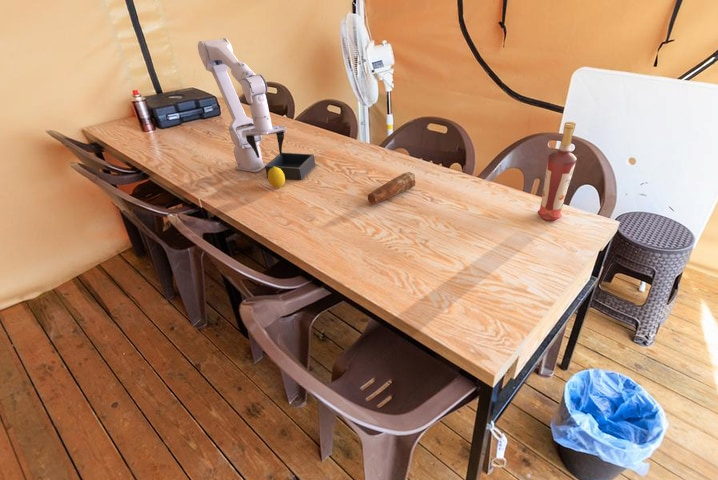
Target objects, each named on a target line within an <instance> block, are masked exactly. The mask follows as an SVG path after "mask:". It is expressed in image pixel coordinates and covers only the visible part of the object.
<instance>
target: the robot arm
mask: <svg viewBox="0 0 718 480" xmlns="http://www.w3.org/2000/svg"><path fill="white" fill-rule="evenodd" d="M197 50H198V52H197V53H198V55H199V57H200V59H201V62H202V64H203V66H204V68H205V70H206V71H208V72H209V73H211V74H212V76H213V79H214V80H215V83H216V85H217V87H218V89H219V92H220V94H221V96H222V98H223V101H224V103H225V105H226V107H227V110H228V112H229V115H230V117H231V119H232V121H231V123H230V124H229V125H228V132H229V134H230V139H231V141H232V144H233V145H234V147H233V155H234V157H235V158H234V159H235V163H236V165H237V167H236V170H237V171H238V170H239V171H244V172H251V173H258V172H260V171H261V170H263V169H265V166H266V165H267V164H268V163H269V162H268V163H266V162H264V161H263V156H262V151H261V147H260V145H261V141H262V140H263V136H267V135H275V136H276V139H277V144H278V145H277V146H278V151H279V154H280V155H282V153H283V144H284V139H285V134H287V127H286V125H272V124H273V123H272V119H271V115H270V110H269V109H270V108H269V104H268V99H267V95H266V94H267V93H268V91H269V90H268V89H269V88H268V84H267V83H268V82H267V81H266V79H265V77H264V76H263V74H261V73H259V74H258V73H255V72H254V71H253V70H252V69H251V68H250V67H249V66H248V65H247V64H246V63H245V62H244V61H240V60H238V57H236V55H235V54H234V50H233V46H232V43H231V42H230V41H229V40H228V38H227V37H223V38H218V39H210V40H199V41H198V42H197ZM229 69H230V73H231V76H232V77H233V78H234V79H235V80H236V82H237V83H238V84H239V85H240V86H241V87H240V88H241V90H242V92H243V94H244V97H245V100H246V102H247V103H248V106H249V110H250V115H251V117H249V116H247V115H246V112H245V109H244V108H243V106H242V104H241V101H240V98H239V96H238V94H237V92H236V89H235V87H234V84H233V82H232V80H231V77H230V75H229V73H228V70H229Z"/></svg>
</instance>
